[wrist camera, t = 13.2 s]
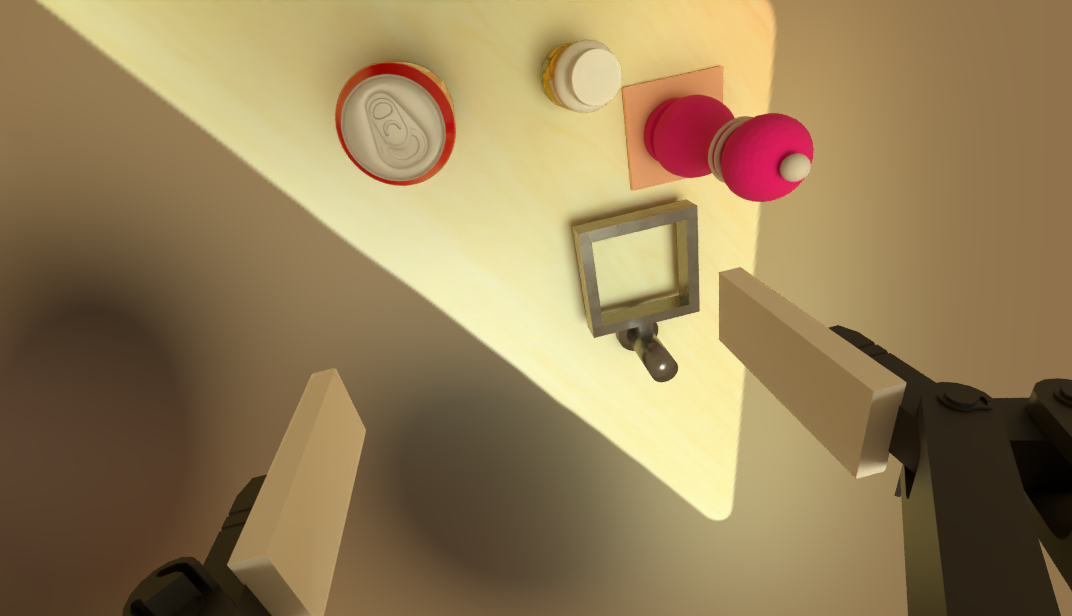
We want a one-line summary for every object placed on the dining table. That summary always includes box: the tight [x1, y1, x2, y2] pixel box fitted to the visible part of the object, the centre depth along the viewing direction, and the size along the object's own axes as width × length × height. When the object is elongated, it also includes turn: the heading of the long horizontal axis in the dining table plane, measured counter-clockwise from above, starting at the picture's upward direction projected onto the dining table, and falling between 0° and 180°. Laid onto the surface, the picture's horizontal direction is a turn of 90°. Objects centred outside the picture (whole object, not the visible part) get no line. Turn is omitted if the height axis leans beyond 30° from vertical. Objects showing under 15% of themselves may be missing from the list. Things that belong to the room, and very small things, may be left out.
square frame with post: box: [573, 200, 700, 382], centre depth 51 cm, size 18×12×9 cm
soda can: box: [335, 62, 456, 186], centre depth 37 cm, size 8×8×15 cm
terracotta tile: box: [622, 66, 723, 191], centre depth 48 cm, size 10×10×1 cm
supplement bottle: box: [541, 40, 622, 113], centre depth 40 cm, size 5×5×10 cm
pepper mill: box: [644, 95, 813, 202], centre depth 39 cm, size 7×7×20 cm
